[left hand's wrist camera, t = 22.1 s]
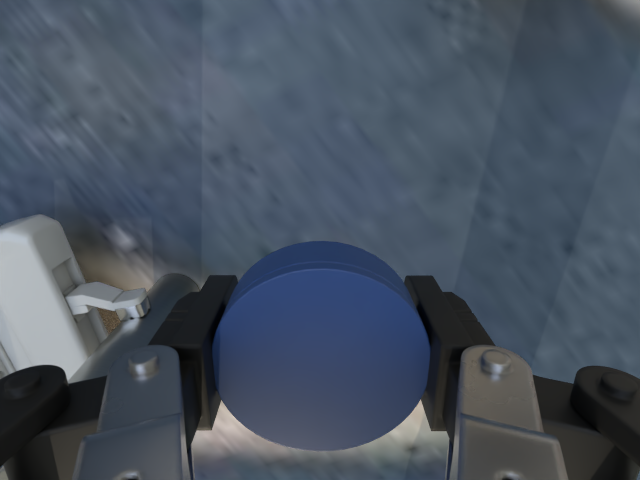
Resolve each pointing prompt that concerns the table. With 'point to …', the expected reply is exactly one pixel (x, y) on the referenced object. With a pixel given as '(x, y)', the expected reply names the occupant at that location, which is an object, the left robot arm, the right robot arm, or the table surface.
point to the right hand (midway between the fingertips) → (158, 334)
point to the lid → (321, 348)
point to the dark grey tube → (133, 330)
